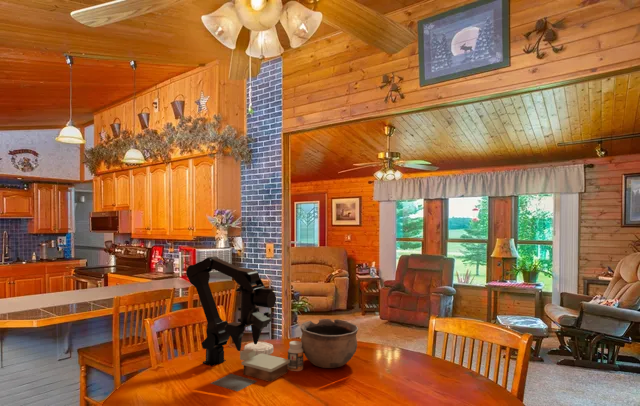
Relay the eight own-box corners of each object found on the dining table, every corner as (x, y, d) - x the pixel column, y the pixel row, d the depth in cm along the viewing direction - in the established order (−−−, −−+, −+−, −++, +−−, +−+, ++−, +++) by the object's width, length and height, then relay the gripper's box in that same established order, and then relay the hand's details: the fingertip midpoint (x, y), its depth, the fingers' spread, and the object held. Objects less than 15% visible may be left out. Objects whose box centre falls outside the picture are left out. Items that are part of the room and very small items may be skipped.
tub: (243, 375, 148) (243, 364, 148) (261, 367, 157) (261, 356, 157) (270, 383, 142) (270, 371, 142) (287, 373, 151) (287, 362, 151)
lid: (233, 365, 150) (233, 354, 150) (252, 357, 160) (253, 346, 160) (270, 375, 142) (271, 363, 142) (289, 365, 151) (289, 354, 151)
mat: (210, 385, 140) (210, 383, 140) (231, 375, 149) (231, 373, 149) (237, 393, 134) (237, 391, 134) (257, 382, 142) (257, 380, 142)
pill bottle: (301, 373, 152) (301, 345, 152) (285, 371, 153) (286, 344, 153) (304, 367, 157) (305, 341, 158) (289, 366, 158) (290, 339, 159)
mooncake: (238, 353, 173) (238, 344, 173) (262, 347, 181) (262, 339, 181) (254, 361, 164) (254, 351, 164) (279, 354, 172) (279, 345, 173)
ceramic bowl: (345, 353, 174) (345, 317, 175) (367, 372, 154) (367, 330, 154) (293, 358, 167) (294, 320, 168) (309, 378, 147) (310, 335, 147)
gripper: (248, 312, 142) (247, 358, 142) (281, 303, 158) (280, 344, 158) (224, 308, 148) (223, 352, 148) (258, 299, 164) (257, 339, 164)
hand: (247, 347), depth 154 cm, fingers open, 9 cm apart
